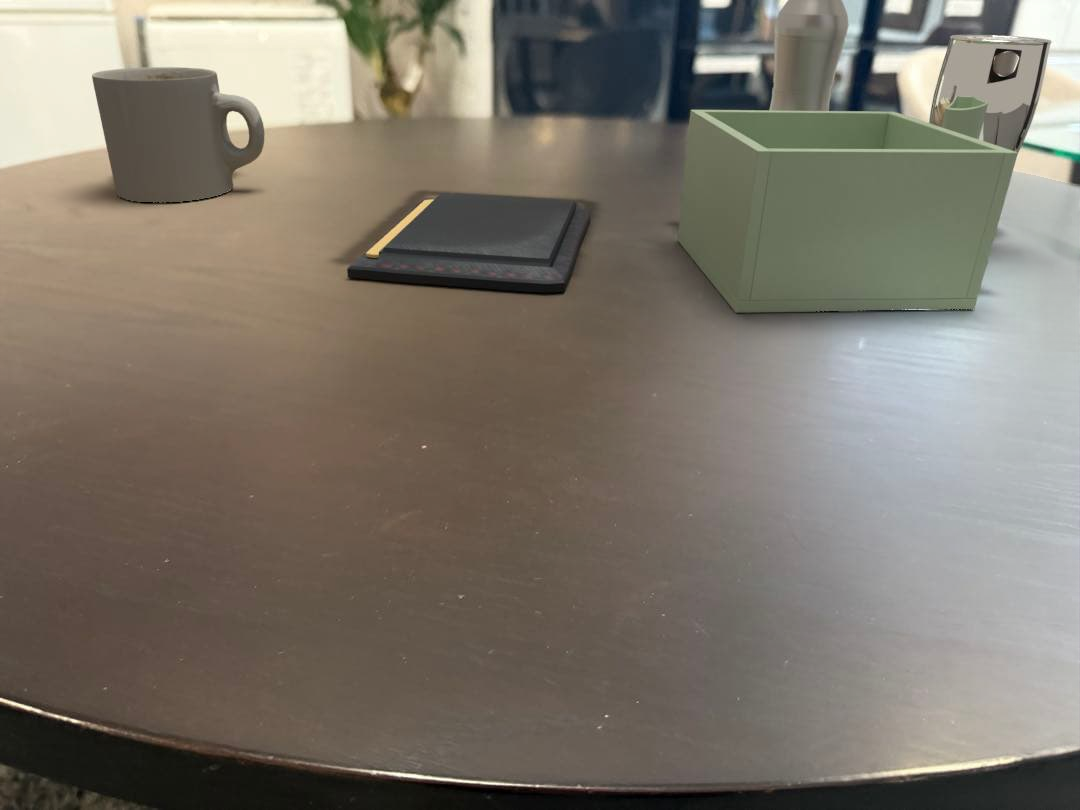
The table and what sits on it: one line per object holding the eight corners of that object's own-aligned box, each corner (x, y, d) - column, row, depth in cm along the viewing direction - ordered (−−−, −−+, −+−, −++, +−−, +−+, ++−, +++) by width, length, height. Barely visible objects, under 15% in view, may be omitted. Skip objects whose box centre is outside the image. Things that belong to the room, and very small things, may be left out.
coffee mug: (92, 199, 73) (65, 77, 68) (155, 175, 81) (134, 65, 77) (238, 208, 71) (220, 84, 66) (286, 183, 80) (273, 71, 75)
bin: (868, 239, 67) (894, 111, 62) (974, 310, 53) (1018, 152, 49) (677, 240, 66) (690, 109, 61) (735, 313, 52) (758, 150, 47)
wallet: (564, 268, 53) (335, 250, 55) (562, 296, 54) (338, 278, 56) (599, 195, 70) (424, 184, 72) (598, 217, 71) (425, 205, 73)
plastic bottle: (826, 194, 81) (868, -41, 71) (755, 190, 81) (787, -43, 72) (817, 179, 86) (855, -40, 77) (750, 176, 87) (780, -41, 78)
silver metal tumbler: (885, 239, 67) (929, 36, 60) (928, 226, 71) (974, 33, 64) (970, 261, 62) (1029, 43, 55) (1011, 245, 66) (1071, 39, 59)
